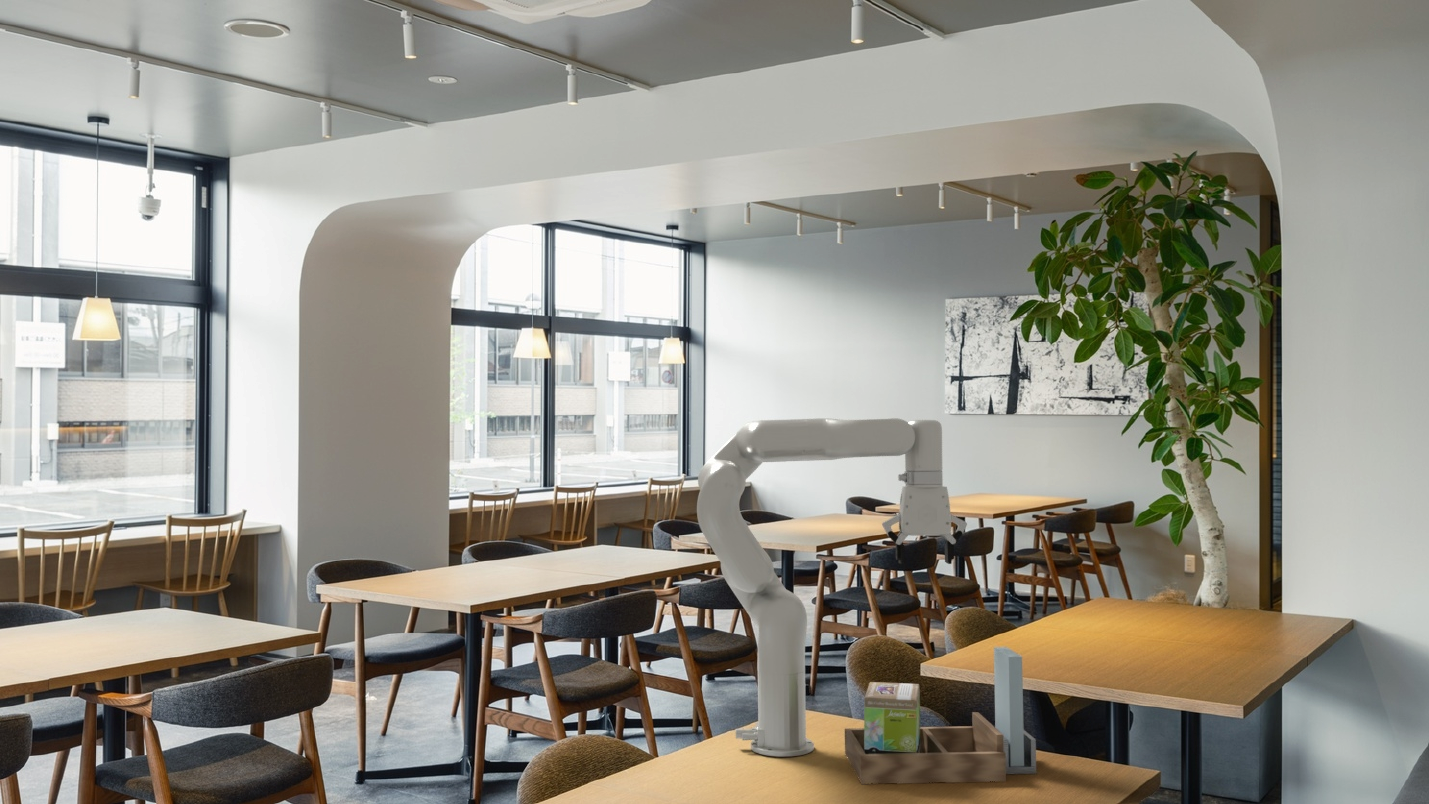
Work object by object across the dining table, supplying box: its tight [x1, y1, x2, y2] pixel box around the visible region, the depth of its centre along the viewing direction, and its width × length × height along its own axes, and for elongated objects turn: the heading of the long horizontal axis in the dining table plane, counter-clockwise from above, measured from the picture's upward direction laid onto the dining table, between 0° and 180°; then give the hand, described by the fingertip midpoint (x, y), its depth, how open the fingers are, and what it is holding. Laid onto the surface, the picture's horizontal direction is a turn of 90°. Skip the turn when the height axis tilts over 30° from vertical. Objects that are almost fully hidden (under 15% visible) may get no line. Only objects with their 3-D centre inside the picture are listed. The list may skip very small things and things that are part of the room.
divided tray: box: [844, 711, 1007, 785], centre depth 217 cm, size 26×20×8 cm
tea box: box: [863, 681, 921, 754], centre depth 217 cm, size 15×10×15 cm
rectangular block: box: [993, 646, 1024, 766], centre depth 219 cm, size 2×10×20 cm, turn 2°
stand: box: [1003, 728, 1037, 775], centre depth 218 cm, size 6×12×6 cm, turn 2°
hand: (924, 563), depth 237 cm, fingers open, 9 cm apart
